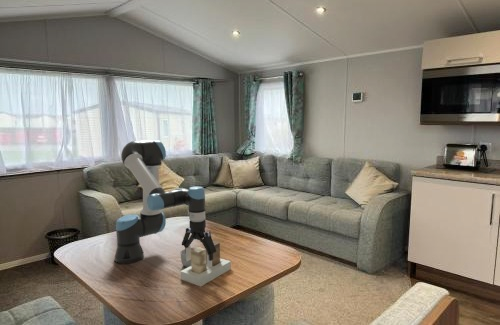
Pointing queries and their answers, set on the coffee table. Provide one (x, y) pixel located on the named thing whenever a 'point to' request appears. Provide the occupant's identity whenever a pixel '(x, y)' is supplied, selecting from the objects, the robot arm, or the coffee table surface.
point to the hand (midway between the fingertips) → (199, 263)
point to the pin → (198, 260)
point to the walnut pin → (215, 254)
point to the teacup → (183, 258)
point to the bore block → (205, 273)
